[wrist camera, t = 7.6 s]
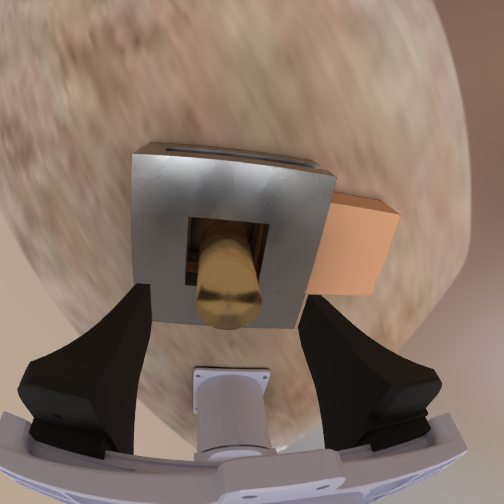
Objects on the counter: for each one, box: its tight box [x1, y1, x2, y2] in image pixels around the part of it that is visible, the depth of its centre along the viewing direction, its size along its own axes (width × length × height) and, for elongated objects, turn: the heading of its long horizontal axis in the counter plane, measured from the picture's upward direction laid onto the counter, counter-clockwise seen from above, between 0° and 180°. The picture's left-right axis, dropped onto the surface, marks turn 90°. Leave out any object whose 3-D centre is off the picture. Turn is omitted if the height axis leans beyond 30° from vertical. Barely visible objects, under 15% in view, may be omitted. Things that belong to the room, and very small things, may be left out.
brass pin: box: [196, 218, 262, 330], centre depth 17 cm, size 3×3×9 cm
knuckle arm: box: [187, 192, 401, 295], centre depth 20 cm, size 7×16×3 cm, turn 81°
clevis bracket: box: [131, 142, 337, 329], centre depth 19 cm, size 11×11×4 cm
